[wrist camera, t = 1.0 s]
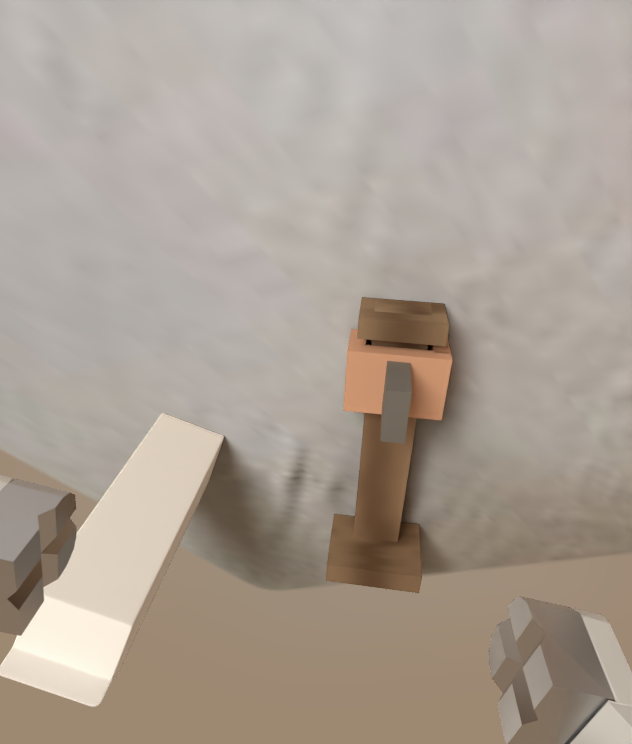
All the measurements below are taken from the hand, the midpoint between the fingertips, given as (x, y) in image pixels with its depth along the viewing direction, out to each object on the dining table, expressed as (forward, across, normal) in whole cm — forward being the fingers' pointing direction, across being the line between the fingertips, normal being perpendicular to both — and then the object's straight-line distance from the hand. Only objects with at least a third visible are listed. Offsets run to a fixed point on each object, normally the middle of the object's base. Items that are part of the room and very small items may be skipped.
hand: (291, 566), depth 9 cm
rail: (+30, -7, +16) cm, 35 cm away
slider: (+30, -6, +10) cm, 32 cm away
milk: (+31, +10, +24) cm, 40 cm away
